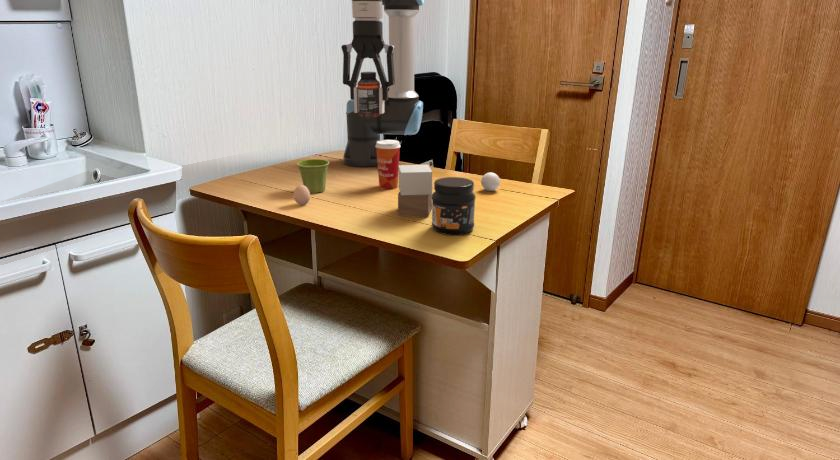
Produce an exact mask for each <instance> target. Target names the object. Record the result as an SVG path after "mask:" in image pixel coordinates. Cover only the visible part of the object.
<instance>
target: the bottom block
mask: <svg viewBox="0 0 840 460" xmlns="http://www.w3.org/2000/svg"><path fill="white" fill-rule="evenodd" d="M432 194H433V193H432ZM432 194H431V195H401V193H400V191H399V192H398V193H397V215H398V216H399V217H413V216H415V217H416V218H417V217H418V218H419V217H420V218H429V217H430V214H431V211H432Z"/></svg>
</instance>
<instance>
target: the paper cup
mask: <svg viewBox="0 0 840 460" xmlns="http://www.w3.org/2000/svg"><path fill="white" fill-rule="evenodd" d="M375 147H376V150H377V163H378V165H377V173H378V185H379V186H378V187H379V188H380V189H382V190H394V189H397V188H398V187H399V165H400V150H401V149H400V148H401V143H400V141H399V140H397V139H382V140H381V139H380V141H377V143H376V146H375Z"/></svg>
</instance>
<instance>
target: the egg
mask: <svg viewBox="0 0 840 460" xmlns="http://www.w3.org/2000/svg"><path fill="white" fill-rule="evenodd" d="M293 199H294V201H295V203H297V204H298V205H299V206H305V205H307V204H308V203H309V202H310V200H311V193H310V192H309V190H308V188H307V187H306V186H304V185H303V184H300V185H297V186H296V188H294V192H293Z"/></svg>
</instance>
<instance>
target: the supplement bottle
mask: <svg viewBox="0 0 840 460" xmlns="http://www.w3.org/2000/svg"><path fill="white" fill-rule="evenodd" d="M356 85H357V86H356V87H358V112H359V116H361V117H378V116H380V115H381V114H379V88H381V82H380V80H378V79H377V71H360V80H358V81H357V84H356Z"/></svg>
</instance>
